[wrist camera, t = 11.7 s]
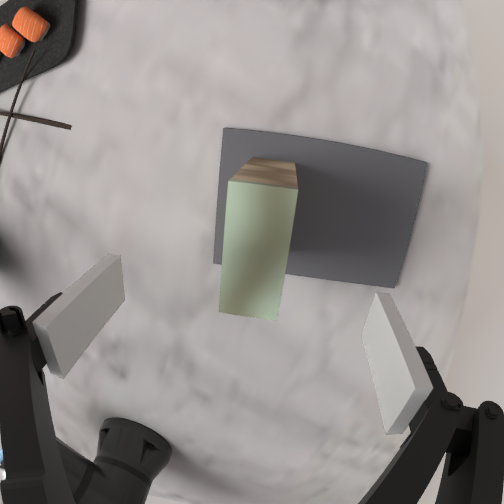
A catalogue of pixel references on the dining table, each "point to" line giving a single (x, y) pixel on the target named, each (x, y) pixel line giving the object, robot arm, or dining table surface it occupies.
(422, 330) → the dining table surface
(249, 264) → the oak slab
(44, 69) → the sushi plate
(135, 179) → the dining table surface
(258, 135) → the rubber mat
